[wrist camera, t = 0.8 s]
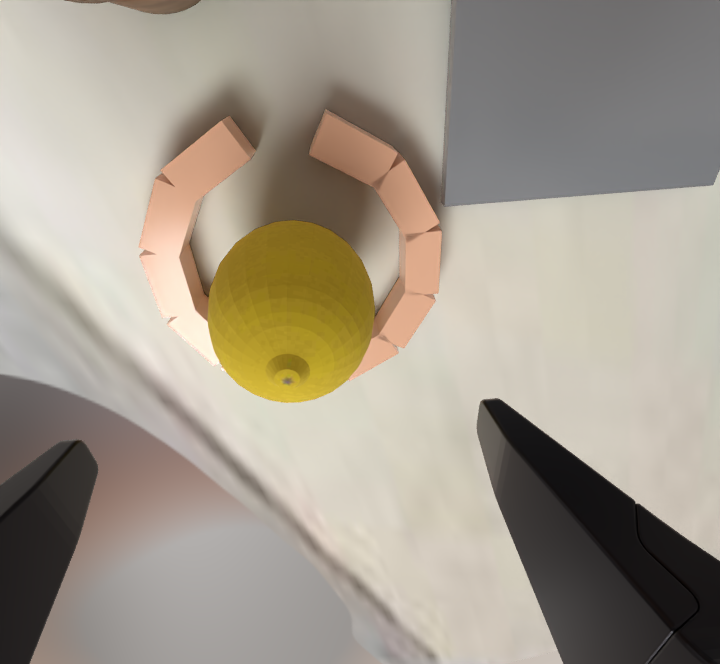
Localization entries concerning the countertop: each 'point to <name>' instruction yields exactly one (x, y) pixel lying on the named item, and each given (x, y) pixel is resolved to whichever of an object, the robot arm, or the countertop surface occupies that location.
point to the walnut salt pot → (149, 5)
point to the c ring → (332, 146)
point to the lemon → (291, 311)
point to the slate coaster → (580, 98)
